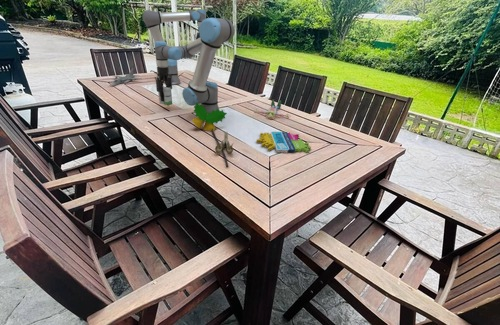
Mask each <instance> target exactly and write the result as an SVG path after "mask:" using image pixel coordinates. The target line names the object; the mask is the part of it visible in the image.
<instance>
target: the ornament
mask: <svg viewBox="0 0 500 325" xmlns="http://www.w3.org/2000/svg"><path fill="white" fill-rule="evenodd" d="M219 110H220V108H219V109H217V110H216V111H214V110H212V112H211V113H208V112H206V109H204V106H201V104H198V103H197V102H196V105H194V106H193V112H194V113H195V118H192V119H191V122H192V123H193V125H195V127H197V128H198V129H202V130H203V131H206V132H212V129H213V131H215V130H216V126H215V124H218V123H219V122H223V119H226V115H227V114H228V113H227V112H224V110H223V109H221V110H220V111H219ZM207 113H208V115H207ZM214 123H215V124H214Z"/></svg>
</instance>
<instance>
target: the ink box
mask: <svg viewBox="0 0 500 325" xmlns="http://www.w3.org/2000/svg"><path fill="white" fill-rule="evenodd" d="M163 92H164V101H165V102H163V101H161V97H160V93H159V92H157V93H158V94H157V95H158V103H159V105H164V106H172V105H173V94H172V89H171V88H168V87H166V86H164V85H163Z"/></svg>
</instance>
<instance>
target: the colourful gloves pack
mask: <svg viewBox="0 0 500 325" xmlns="http://www.w3.org/2000/svg"><path fill="white" fill-rule="evenodd" d="M299 136H300V135H299V134H298V133H296V134H294V133H291V132H287V131H270V132H264V133H263V132H260V133H259V139H258V138H257V139H256V143H257V144H261V148H263V147H264V148H265V149H267V151H268V152H271V151H272V150H273V149H275V152H276V153H283V154H285V153H287V154H288V153H290V154H293V153H296V152H298V153H301V152H305V153H310V151H311V150H312V149H311V148H312V146H309V142H304V141H303V139H302V138H299Z"/></svg>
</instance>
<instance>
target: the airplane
mask: <svg viewBox="0 0 500 325" xmlns="http://www.w3.org/2000/svg"><path fill="white" fill-rule="evenodd" d="M111 77H114V81H113V82H111V83H110V84H109V87H114V86H117V85H119V84H123V83H124V84H127V83H129V82H135V81H137V80H142V79H143V78H142V77H140V75H138V74H134V67H132V68H131V70H130V72H129V73H125V75H124V76H123V75H113V74H112V75H111ZM139 77H140V78H139Z"/></svg>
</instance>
